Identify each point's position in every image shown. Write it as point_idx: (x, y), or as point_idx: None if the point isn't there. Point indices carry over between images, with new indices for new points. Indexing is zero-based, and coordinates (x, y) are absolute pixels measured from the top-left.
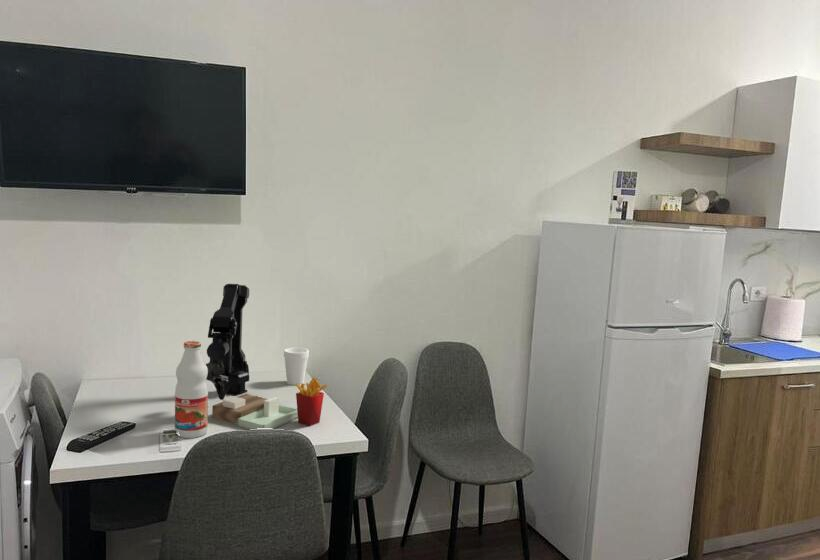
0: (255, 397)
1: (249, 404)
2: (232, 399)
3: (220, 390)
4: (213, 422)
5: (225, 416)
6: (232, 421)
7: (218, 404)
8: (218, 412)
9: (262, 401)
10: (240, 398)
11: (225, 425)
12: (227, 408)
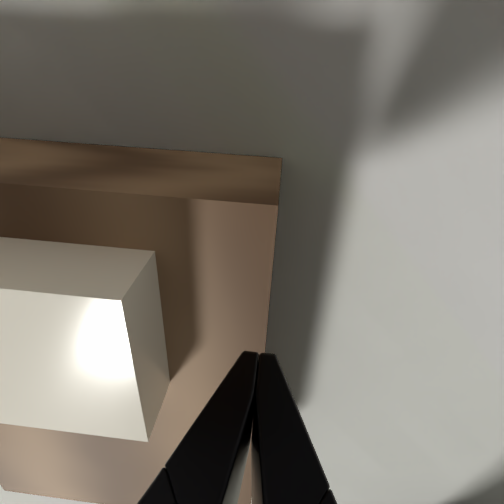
0: (136, 496)
1: None
2: (58, 368)
3: (210, 481)
4: (168, 38)
5: (95, 158)
6: (24, 143)
7: (241, 272)
8: (184, 171)
9: (25, 459)
10: (34, 420)
11: (7, 35)
12: (38, 209)
